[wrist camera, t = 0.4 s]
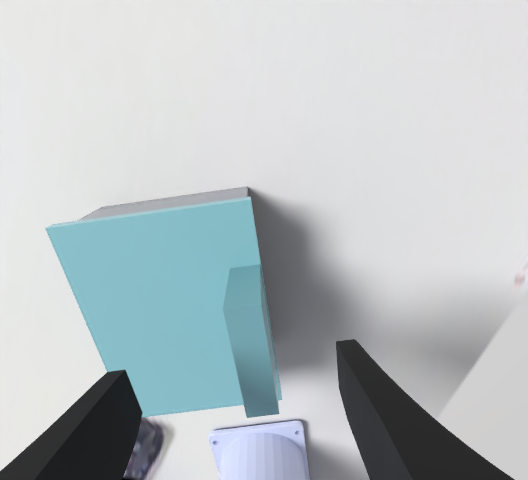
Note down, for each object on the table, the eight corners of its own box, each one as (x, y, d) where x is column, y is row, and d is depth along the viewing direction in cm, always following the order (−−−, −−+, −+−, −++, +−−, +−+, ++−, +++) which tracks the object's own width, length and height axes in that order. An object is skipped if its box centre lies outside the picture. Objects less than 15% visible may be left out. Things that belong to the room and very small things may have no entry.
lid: (279, 379, 20) (287, 460, 15) (137, 396, 20) (100, 482, 15) (251, 191, 15) (249, 224, 10) (65, 217, 15) (-19, 261, 11)
